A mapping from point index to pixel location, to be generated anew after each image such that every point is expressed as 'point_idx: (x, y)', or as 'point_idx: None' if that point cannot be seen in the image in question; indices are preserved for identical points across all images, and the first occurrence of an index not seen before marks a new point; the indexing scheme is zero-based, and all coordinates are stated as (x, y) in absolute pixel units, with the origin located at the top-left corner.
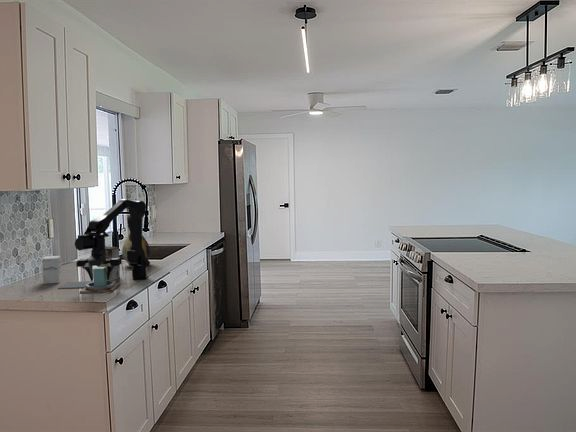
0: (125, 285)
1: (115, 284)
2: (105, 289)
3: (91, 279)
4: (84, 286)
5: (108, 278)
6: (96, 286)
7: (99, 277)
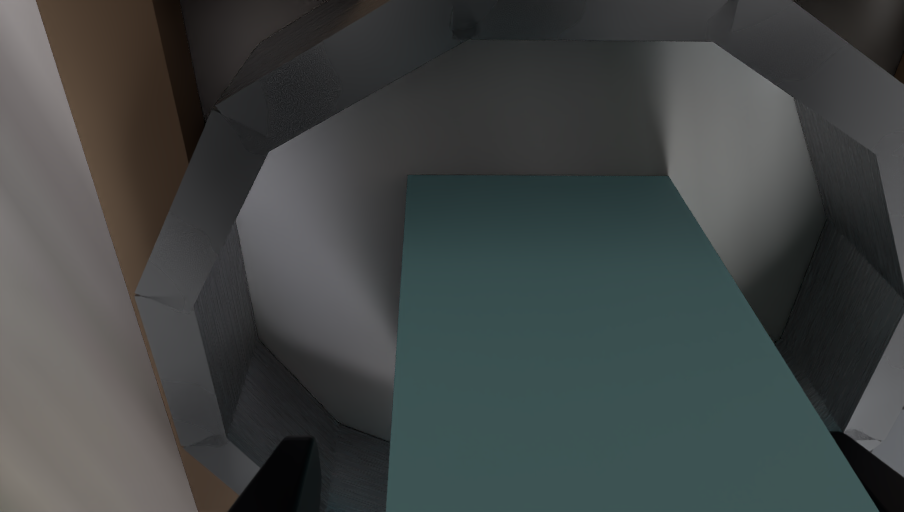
0: (84, 474)
1: None
2: (302, 24)
3: (862, 465)
4: (895, 443)
5: (257, 480)
6: (628, 230)
7: (577, 457)
